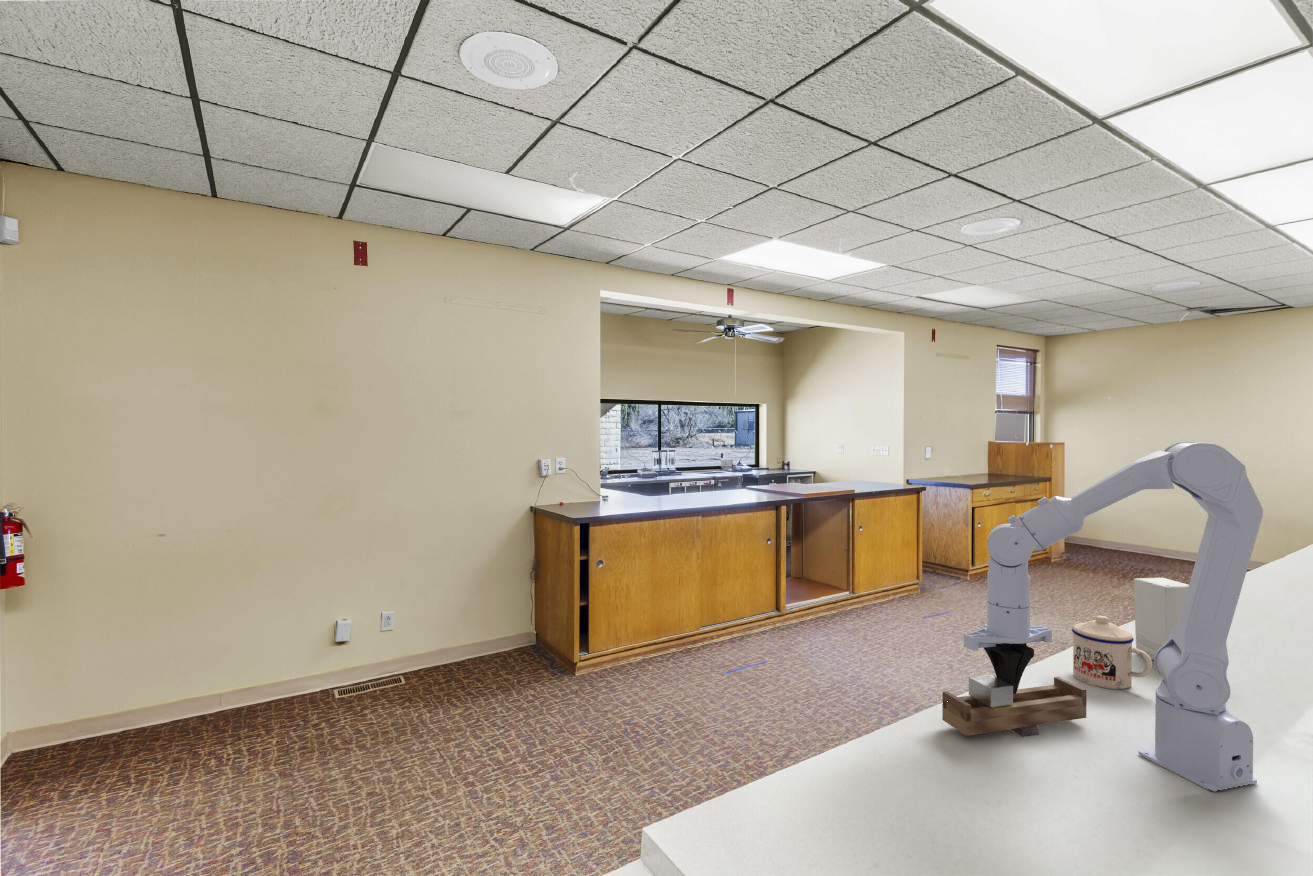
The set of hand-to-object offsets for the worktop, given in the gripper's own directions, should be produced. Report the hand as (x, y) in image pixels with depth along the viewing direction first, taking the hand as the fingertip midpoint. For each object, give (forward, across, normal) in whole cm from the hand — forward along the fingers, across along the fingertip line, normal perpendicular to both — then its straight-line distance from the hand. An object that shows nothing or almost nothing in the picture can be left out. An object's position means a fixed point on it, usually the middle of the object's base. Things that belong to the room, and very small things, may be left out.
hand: (1007, 691), depth 94 cm
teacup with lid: (+6, -31, -9) cm, 33 cm away
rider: (+2, +3, 0) cm, 4 cm away
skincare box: (+6, -52, -15) cm, 55 cm away
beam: (+6, -1, 0) cm, 6 cm away
